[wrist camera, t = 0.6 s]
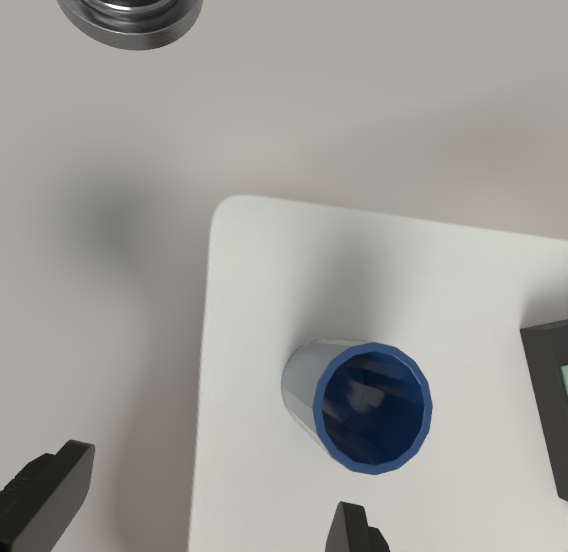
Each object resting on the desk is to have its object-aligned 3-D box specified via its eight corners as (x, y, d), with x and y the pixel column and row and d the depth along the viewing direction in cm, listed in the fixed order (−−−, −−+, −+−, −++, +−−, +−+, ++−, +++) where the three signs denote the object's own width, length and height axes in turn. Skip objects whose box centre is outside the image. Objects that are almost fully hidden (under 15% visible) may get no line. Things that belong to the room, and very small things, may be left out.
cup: (274, 347, 29) (303, 355, 21) (357, 331, 31) (418, 333, 22) (289, 440, 29) (326, 489, 20) (374, 419, 30) (443, 456, 21)
